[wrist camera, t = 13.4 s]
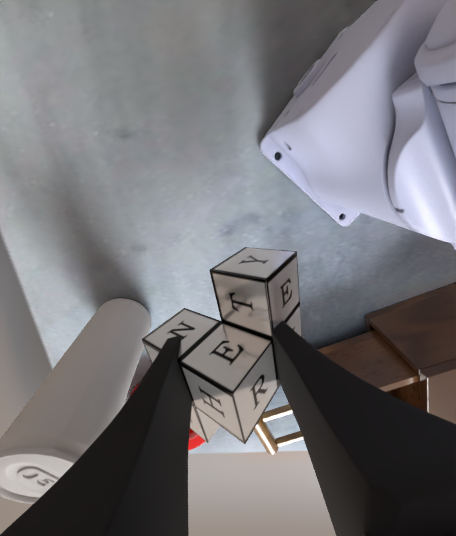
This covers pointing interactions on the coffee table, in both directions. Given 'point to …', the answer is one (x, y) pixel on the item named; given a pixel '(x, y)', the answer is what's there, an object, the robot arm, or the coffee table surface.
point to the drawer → (365, 367)
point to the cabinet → (425, 344)
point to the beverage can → (73, 401)
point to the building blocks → (235, 341)
